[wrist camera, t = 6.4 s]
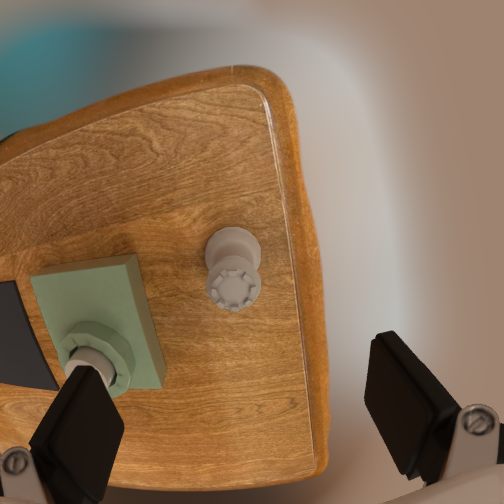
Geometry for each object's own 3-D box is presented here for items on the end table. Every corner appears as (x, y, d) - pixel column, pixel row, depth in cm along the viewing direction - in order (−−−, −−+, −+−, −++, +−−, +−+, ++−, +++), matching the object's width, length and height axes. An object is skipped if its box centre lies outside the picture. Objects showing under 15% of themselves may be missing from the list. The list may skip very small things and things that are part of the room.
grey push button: (67, 346, 21) (57, 359, 19) (105, 345, 21) (96, 359, 19) (83, 382, 22) (75, 396, 20) (121, 383, 22) (114, 398, 21)
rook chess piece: (227, 288, 26) (226, 339, 18) (194, 246, 24) (177, 283, 17) (271, 258, 25) (288, 299, 17) (239, 213, 24) (242, 237, 16)
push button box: (45, 265, 24) (16, 284, 19) (136, 252, 24) (116, 273, 19) (83, 370, 27) (65, 399, 22) (167, 369, 28) (158, 403, 23)
